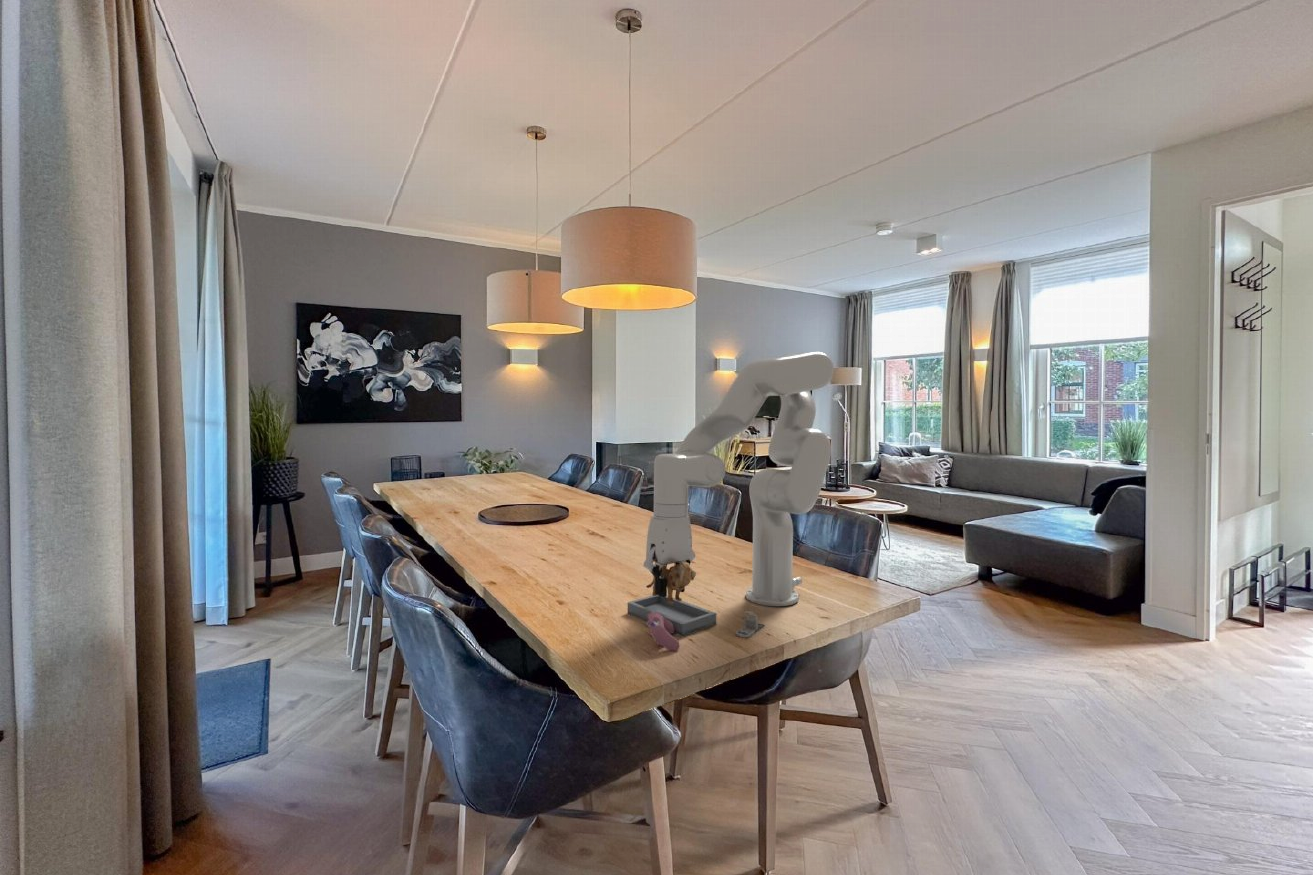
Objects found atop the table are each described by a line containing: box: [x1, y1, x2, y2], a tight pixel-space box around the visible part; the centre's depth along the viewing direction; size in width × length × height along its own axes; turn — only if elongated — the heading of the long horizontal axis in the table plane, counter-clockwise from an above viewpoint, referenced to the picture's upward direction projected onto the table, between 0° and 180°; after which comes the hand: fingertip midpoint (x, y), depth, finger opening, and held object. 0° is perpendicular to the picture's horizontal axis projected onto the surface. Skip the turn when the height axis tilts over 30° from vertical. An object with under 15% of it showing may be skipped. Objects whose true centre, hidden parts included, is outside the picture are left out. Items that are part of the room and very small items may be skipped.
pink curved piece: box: [645, 610, 681, 652], centre depth 117 cm, size 10×5×7 cm, turn 5°
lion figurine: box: [646, 562, 697, 604], centre depth 130 cm, size 15×5×9 cm, turn 40°
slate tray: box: [627, 594, 717, 637], centre depth 129 cm, size 10×18×2 cm, turn 41°
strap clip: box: [735, 610, 765, 639], centre depth 123 cm, size 8×3×4 cm, turn 145°
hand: (669, 592), depth 129 cm, fingers closed on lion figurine, 4 cm apart
